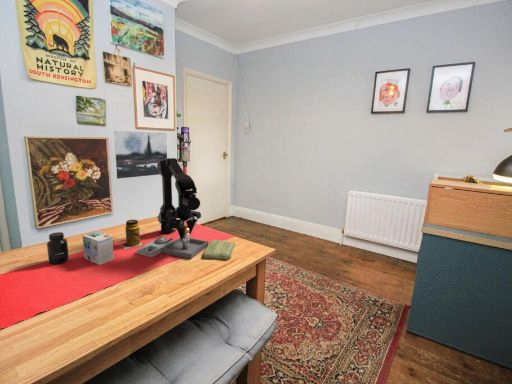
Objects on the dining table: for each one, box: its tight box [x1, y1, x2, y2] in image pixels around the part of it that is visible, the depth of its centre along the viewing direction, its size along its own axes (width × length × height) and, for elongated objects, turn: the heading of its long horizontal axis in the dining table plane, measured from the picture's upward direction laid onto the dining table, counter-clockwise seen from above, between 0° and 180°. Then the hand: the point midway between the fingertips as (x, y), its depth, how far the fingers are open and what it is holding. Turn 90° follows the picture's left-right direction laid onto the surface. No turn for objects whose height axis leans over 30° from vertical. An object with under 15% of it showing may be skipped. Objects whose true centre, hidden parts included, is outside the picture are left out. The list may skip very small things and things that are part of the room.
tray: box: [161, 237, 209, 260], centre depth 127 cm, size 15×15×2 cm
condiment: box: [119, 219, 144, 250], centre depth 129 cm, size 7×8×12 cm
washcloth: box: [203, 239, 236, 261], centre depth 127 cm, size 13×18×3 cm
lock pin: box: [182, 227, 191, 250], centre depth 126 cm, size 3×3×10 cm
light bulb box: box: [82, 230, 115, 266], centre depth 114 cm, size 11×7×11 cm, turn 62°
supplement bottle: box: [46, 231, 70, 265], centre depth 110 cm, size 7×7×12 cm
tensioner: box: [136, 235, 174, 258], centre depth 127 cm, size 16×9×3 cm, turn 161°
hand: (185, 236), depth 126 cm, fingers open, 6 cm apart
